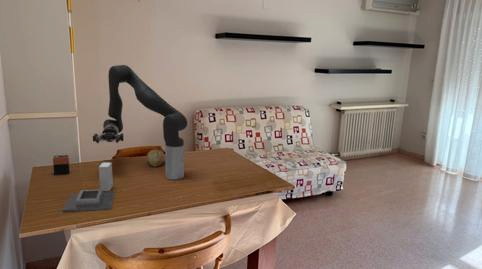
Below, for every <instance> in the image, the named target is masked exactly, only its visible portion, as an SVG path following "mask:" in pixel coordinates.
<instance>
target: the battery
mask: <svg viewBox="0 0 482 269" xmlns="http://www.w3.org/2000/svg"><path fill="white" fill-rule="evenodd" d="M52 164H53V166H52V167H53V174H54V176H59V175H69V174H70V158H69V155H68V154H67V153H63V154H61V155H59V154H55V155H54V156H53V157H52Z"/></svg>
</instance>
